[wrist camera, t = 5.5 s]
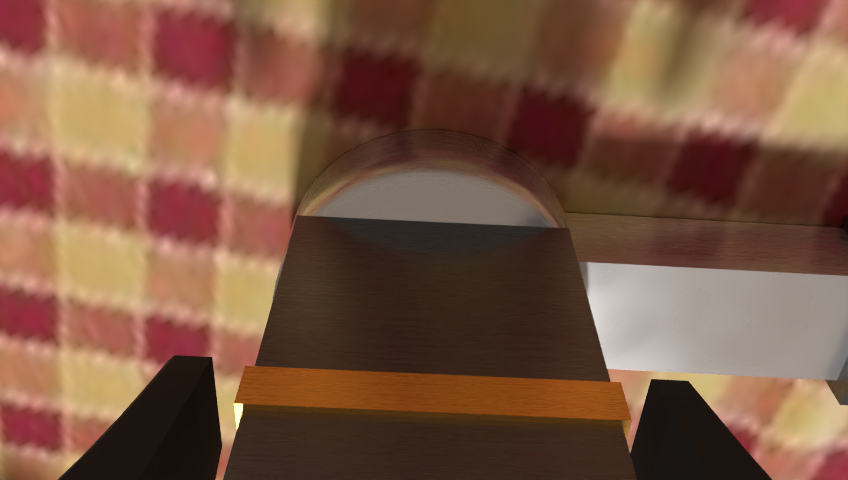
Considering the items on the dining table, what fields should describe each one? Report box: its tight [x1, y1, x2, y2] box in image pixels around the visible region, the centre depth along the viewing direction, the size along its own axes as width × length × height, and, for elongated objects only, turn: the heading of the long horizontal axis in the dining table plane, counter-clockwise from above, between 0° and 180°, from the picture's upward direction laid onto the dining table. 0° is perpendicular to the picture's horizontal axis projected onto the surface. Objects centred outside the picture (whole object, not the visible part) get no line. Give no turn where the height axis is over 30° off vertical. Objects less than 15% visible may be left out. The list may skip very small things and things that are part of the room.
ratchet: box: [273, 130, 848, 405], centre depth 15 cm, size 18×6×5 cm, turn 87°
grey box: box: [223, 215, 637, 480], centre depth 13 cm, size 5×5×6 cm
